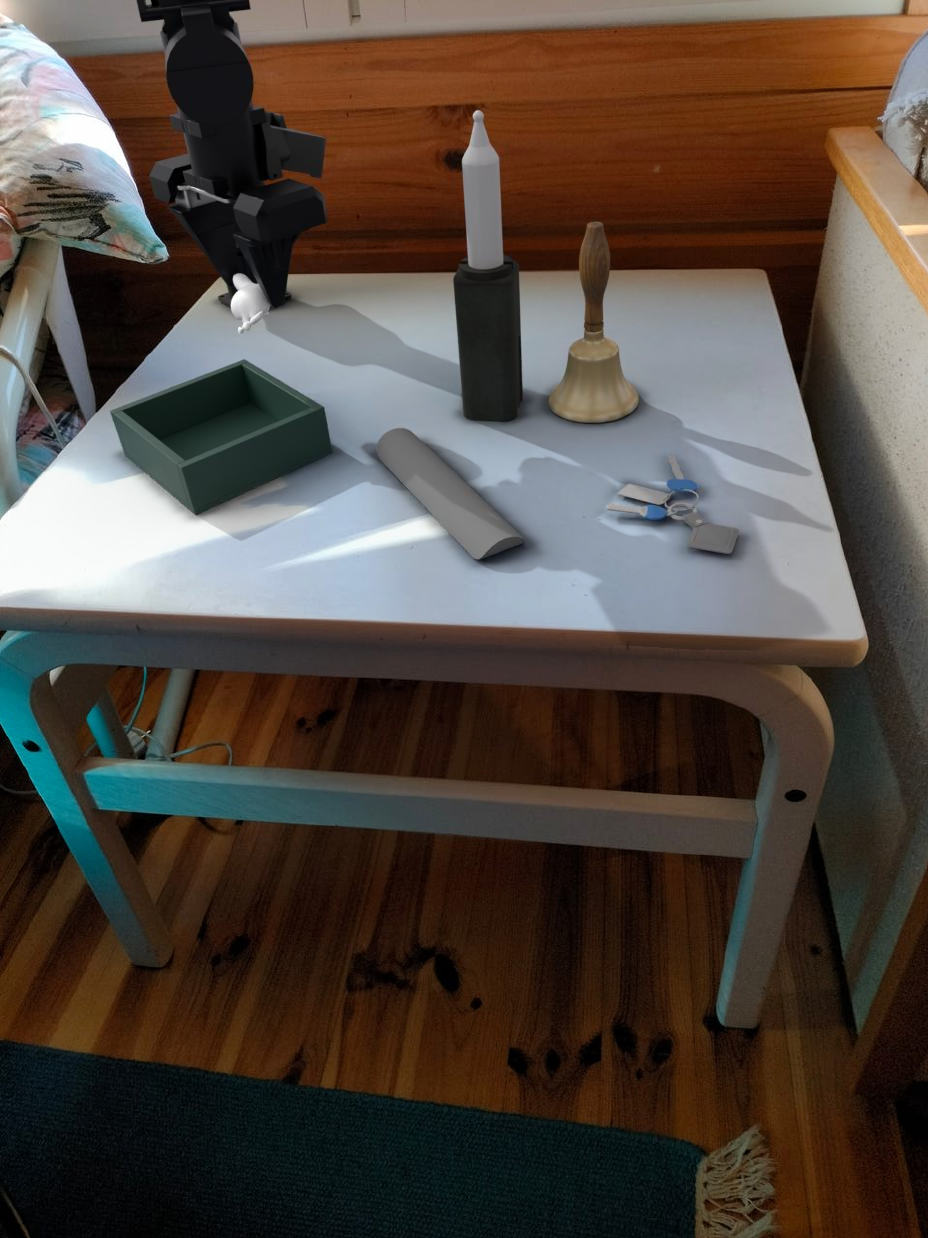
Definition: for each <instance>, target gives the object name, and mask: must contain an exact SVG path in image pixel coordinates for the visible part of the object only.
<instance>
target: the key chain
mask: <svg viewBox="0 0 928 1238" xmlns="http://www.w3.org/2000/svg"><path fill="white" fill-rule="evenodd" d="M667 457H668V463H669V464H670V467H671V468H672V473H673V474H674V477H675V478H669V479H668V480H667V481H666V486H667V488H668V489H669V490H671V492H670V493H666V492H663V491H660V490H656V489H653V488H648V487H644V486H640V485H637V484H634V483H633V484H632V483H627V485H625V486H624V487H623V488H622V489H620V490H619V491H618V492H617V493H616V495H619V496H623V497H627V498H630V499H634V500H638V501H641V502H645V503H649V504H645V506H640V505H638V506H632V505H629V504H625V505H623V504H620V505H619V504H615V503H607V505H606V506H605V509H606V510H607V511H610V512H611V511H612V512H618V513H626V514H627V513H628V514H634V515H635V514H636V515H640V516H642V517H643V519H646V520H648V521H659V520H662V519H665V517H670V518H671V519H673V520H675V521H677V522H684V523H685V524H687V525H688V526H689V527H690V528H691V529H692V530H691V533H690V535H689V538H688V541H687V543H686V545H687V547H688V548H689V549H690V548H691V549H696V550H701V551H702V550H703V551H708V552H713V553H720V554H725V555H731V554H732V553H733V551H734V548H735V545H736V542H737V539H738V536H739V532H740V529H739V528H737V527H732V526H725V525H721V524H720V525H719V524H713V523H708V521H706V520H705V519H703V518H702V517H701V516H700V514H699V512H698V510H697V507H696V505H697V504H699V501H700V496H699V494H698V493H697V492H696V491H697V490H698V483H696V482H695V481H694V480H691V479H688V478H685V477H684V474H683V472H681V467H680V465H679V463H678V462H677V459H676V457H675V456H674V454H673V453H672V452H668V453H667ZM674 493H675V494H676V493H683V494H684V493H686V494H687V493H689V494H690V493H693V494H695V496H696V501H695V502H694V504H690V503H688V502H675V503H673V504H671V505H670V506H669V505H668V503H667V502H668V500H670V498H671V497H672V494H674ZM663 504H664V507H665V508H667V511H666V509H665V508H664V507H661V506H660V505H663ZM678 508H680V509H678ZM681 508H682V509H681ZM687 510H691V511H692V512H690V513H687V514H684V515H681V516H679V515H677V513H678V512H683V511H687Z"/></svg>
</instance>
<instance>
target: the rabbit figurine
mask: <svg viewBox="0 0 928 1238" xmlns="http://www.w3.org/2000/svg"><path fill="white" fill-rule="evenodd" d="M233 283H234V285H235V287H236V288H237V290H239V291H238V292H236V294H235V295H234V296H233V298H232V301H231V307H230V310H231V313H232V315H233V316H234V317H235V319H237V320H238V321H242V323H243V324H242V326H239V327H237V328H238V329H237V332H238V334H239V335H241V334H243V333H244V332H245V331H251V329H252V325H256V324H257V323H258V322H260V321H261V320H262V319H263V318H264V317H265V316H266V315H269V311H270V308H271V306H270V304H269V302H268V300H267V298H266V297H265V295H264V293H263V292H262V290H261V288H260V286H259V284H254V283H252V282H251V281H250V279H249V278H248V277H247V276H246V275H244V274H241V273H237V274H235V275H234V276H233Z"/></svg>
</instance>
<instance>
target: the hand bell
mask: <svg viewBox="0 0 928 1238" xmlns="http://www.w3.org/2000/svg"><path fill="white" fill-rule="evenodd" d="M610 270H611V253H610V247H609V243H608V239H607V236H606V233H605V228H604V223H603V222H601V221H590V222H588V223H587V224H586V229H585V234H584V237H583V240H582V242H581V246H580V251H579V257H578V271H579V279H580V284H581V288H582V291H583V296H584V303H585V304H584V318H583V319H584V323H583V328H584V331H583V337H582V338H579V339H577V340H575V341H574V342H572V343H571V344H570V346H569V348H568V352H567V362H566V365H565V366H566V367H565V371H564V374H563V376H562V378H561V381H560V382H559V383H558V384H557V385H556V386H555V387H554V388H553V389H552V391H551V392H550V394H549V396H548V400H547V402H548V407H549V409H550V410H551V411H552V412H553V413H554V414H555V415H557V416H559V417H560V418H563V419H565V420H568V421H571V422H576V423H583V424H584V423H585V424H590V423H591V424H592V423H593V424H599V423H607V422H612V421H616V420H619V419H622V418H624V417H626V416H627V415H629V414H632V412H634V410H635V409H637V408H638V406H639V402H640V400H639V399H640V397H639V394H638V392H637V390H636V389H635V388H634V386H633V385H632V384H631V383H630V382H628V380H627V379H626V377H625V375H624V372H623V369H622V365H621V357H620V347H619V345H618V343H617V342H616V341H614V340H613V339H611V338H608V337H605V335H604V330H605V329H604V327H605V326H604V325H605V324H604V296H605V293H606V289H607V286H608V283H609V278H610V272H611V271H610Z"/></svg>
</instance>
